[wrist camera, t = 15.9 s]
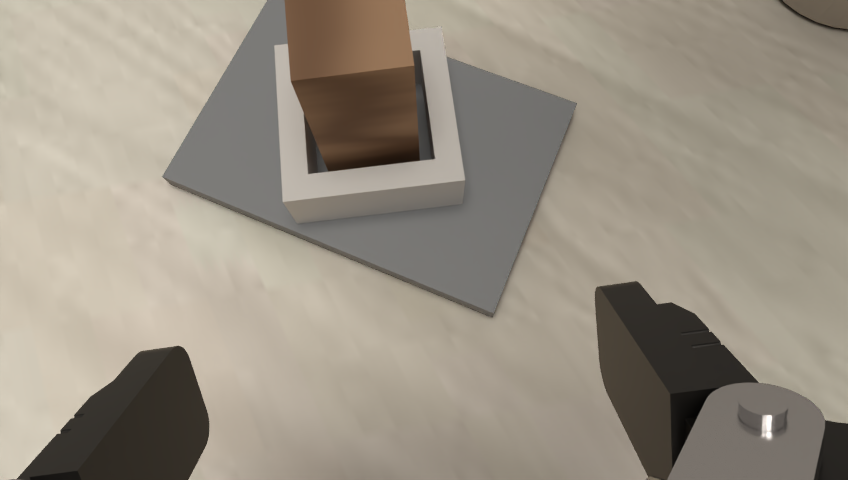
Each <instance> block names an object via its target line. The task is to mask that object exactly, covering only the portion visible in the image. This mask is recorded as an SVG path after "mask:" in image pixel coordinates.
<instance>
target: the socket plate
mask: <svg viewBox="0 0 848 480" xmlns="http://www.w3.org/2000/svg"><path fill="white" fill-rule="evenodd" d="M409 33H410V39H411V46H412V53H413V60H414V68H415V85H416V102H417V119H418V136H419V153H420V161H415V162H406V163H398V164H390V165H381V166H373V167H364V168H356V169H347V170H339V171H330V172H328V170H327V167H326V165H325V162H324V160H323V158H322V155H321V153H320V150H319V148H318V146H317V143H316V141H315V138H314V136H313V134H312V131H311V129H310V126H309V124H308V122H307V119H306V117H305V114H304V112H303V110H302V107H301V105H300V102H299V100H298V98H297V95H296V93H295V90H294V88H293V86H292V83H291V80H290V67H289V53H288V40H287V27H286V14H285V0H267V2H266V4H265V5H264V7H263V9H262V10H261V12H260V14H259V15H258V17H257V19H256V20H255V22H254V24H253V25H252V27H251V29H250V30H249V32H248V34H247V35H246V37H245V39H244V40H243V42H242V44H241V45H240V47H239V49H238V50H237V52H236V54H235V55H234V57H233V59H232V61H231V62H230V64H229V66H228V67H227V69H226V71H225V72H224V74H223V76H222V77H221V79H220V81H219V82H218V84H217V86H216V87H215V89H214V91H213V92H212V94H211V96H210V97H209V99H208V101H207V102H206V104H205V106H204V107H203V109H202V111H201V112H200V114H199V116H198V117H197V119H196V121H195V122H194V124H193V126H192V128H191V129H190V131H189V133H188V134H187V136H186V138H185V139H184V141H183V143H182V144H181V146H180V148H179V149H178V151H177V153H176V154H175V156H174V158H173V159H172V161H171V163H170V164H169V166H168V168H167V169H166V171H165V173H164V174H163V176H162V177H163V178H164V179H165V180H166V181H168V182H169V183H170V184H171V185H174V186H176V187H178V188H181V189H183V190H186V191H188V192H191V193H193V194H195V195H198V196H200V197H203V198H205V199H207V200H210V201H212V202H215V203H217V204H219V205H222V206H224V207H227V208H229V209H232V210H234V211H236V212H239V213H241V214H244V215H246V216H248V217H251V218H253V219H256V220H258V221H261V222H263V223H265V224H268V225H270V226H273V227H275V228H277V229H280V230H282V231H285V232H287V233H290V234H292V235H294V236H297V237H299V238H302V239H304V240H306V241H309V242H311V243H314V244H316V245H319V246H321V247H323V248H326V249H328V250H331V251H333V252H335V253H338V254H340V255H343V256H345V257H348V258H350V259H352V260H355V261H357V262H360V263H362V264H364V265H367V266H369V267H372V268H374V269H377V270H379V271H381V272H384V273H386V274H389V275H391V276H393V277H396V278H398V279H401V280H403V281H406V282H408V283H410V284H413V285H415V286H418V287H420V288H422V289H425V290H427V291H430V292H432V293H435V294H437V295H439V296H442V297H444V298H447V299H449V300H451V301H454V302H456V303H459V304H461V305H464V306H466V307H468V308H471V309H473V310H476V311H478V312H480V313H483V314H485V315H488V316H490V317H492V316H493V314H494V311H495V309H496V306H497V304H498V301H499V299H500V296H501V294H502V291H503V289H504V286H505V284H506V281H507V279H508V276H509V274H510V271H511V268H512V266H513V263H514V261H515V258H516V256H517V253H518V251H519V248H520V246H521V243H522V241H523V238H524V236H525V233H526V231H527V228H528V226H529V223H530V221H531V218H532V216H533V213H534V210H535V208H536V205H537V203H538V200H539V198H540V195H541V193H542V190H543V188H544V185H545V183H546V180H547V178H548V175H549V173H550V170H551V168H552V165H553V163H554V160H555V158H556V155H557V152H558V150H559V147H560V145H561V142H562V140H563V137H564V135H565V132H566V130H567V127H568V125H569V122H570V120H571V117H572V115H573V112H574V110H575V107H576V105H577V103H575V102H572V101H569V100H566V99H564V98H561V97H558V96H555V95H552V94H550V93H547V92H544V91H541V90H538V89H536V88H533V87H530V86H527V85H524V84H521V83H519V82H516V81H513V80H510V79H507V78H505V77H502V76H499V75H496V74H493V73H491V72H488V71H485V70H482V69H479V68H477V67H474V66H471V65H468V64H465V63H462V62H460V61H457V60H454V59H451V58H448V57H446V51H445V45H444V38H443V32H442V26H440V27H431V28H422V29H413V30H409Z"/></svg>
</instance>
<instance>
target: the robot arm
mask: <svg viewBox="0 0 848 480" xmlns="http://www.w3.org/2000/svg"><path fill="white" fill-rule="evenodd" d="M783 1H784V3H786V4H787V5H788V6H790V7H791V8H792V9H794V10H795V11H797V12H798V13H799V14H801V15H803V16H805V17H807V18H809V19H811V20H813V21H815V22H818V23H821V24H825V25H828V26H831V27H836V28H843V29H848V0H783ZM595 307H596V321H597V335H598V349H599V362H600V369H601V374H602V378H603V382H604V386H605V389H606V391H607V394H608V396H609V398H610V400H611V402H612V404H613V406H614V408H615V410H616V412H617V414H618V416H619V418H620V420H621V422H622V424H623V426H624V428H625V430H626V432H627V434H628V437H629V439H630V441H631V443H632V445H633V447H634V449H635V451H636V453H637V455H638V457H639V459H640V461H641V463H642V465H643V467H644V469H645V471H646V473H647V475H648V478H647V479H646V480H848V424H846V423H837V422H831V421H826V420H825V419H824V416H823V414H822V413H821V411H820V409H819V408H818V407H817V406H816V405H815V404H814V403H812V402H811V401H810V400H808V399H807V398H805V397H803V396H802V395H800V394H798V393H796V392H793V391H791V390H788V389H785V388H782V387H779V386H775V385H770V384H763V383H759V382H758V381H757V380H756V379H755V378H754V377H753V376H752V375H751V374H750V373H749V372H748V371H747V370H746V368H745V367H744V366H743V365H742V364H741V363H740V362H739V361H738V360H737V359H736V358H735V357H734V356H733V354H732V353H731V352H730V351H729V350H728V349H727V348H726V347H725V346H724V345H721V343H720V340H719V339H718V338H717V337H716V336H715V335H714V334H713V333H712V332H709V329H708V328H707V326H706V325H705V324H704V323H703V322H702V321H701V320H700V319H699V318H698V317H697V316H696V315H695V314H694V313H692V312H690V311H688V310H686V309H684V308H682V307H680V306H677V305H675V304H673V303H664V304H656V303H655V302H654V300H653V299H652V298H651V297H650V295H649V294H648V293H647V292H646V291H645V289H644V288H643V287H642V286H641V285H640V283H639V282H637V281H635V282H628V283H621V284H614V285H607V286H600V287H597V288H596V291H595ZM208 437H209V418H208V413H207V410H206V407H205V404H204V401H203V398H202V394H201V391H200V388H199V385H198V382H197V379H196V376H195V373H194V370H193V367H192V364H191V361H190V358H189V356H188V354H187V352H186V351H185V349H184V348H183V347H181V346H174V347H167V348H160V349H153V350H146V351H141V352H139V353H138V354H137V355H136V356H135V357H134V358H133V359H132V360H131V361H130V363H129V364H128V365H127V366H126V367H125V368H124V369H123V371H122V372H121V373H120V374H119V375H118V376H117V377H116V379H115V380H114V381H112V382H111V383H110V384H108V385H107V386H105V387H104V388H102V389H101V390H100V391H98V392H97V393H95V394H94V395H92V396H91V397H90V398H89V399H88V400H87V401H86V402H85V404H84V405H83V406H82V407H81V408H80V409H79V410H78V411H77V412H76V414H75V415H74V418H73V419H70V420H69V421H68V422H67V424H66V425H65V426H64V427H63V428H62V429H61V434H57V435H56V436H55V437H54V438H53V439H52V440H51V441H50V442H49V444H48V445H47V446H46V447H45V448H44V449H43V450H42V451H41V453H40V454H39V455H38V456H37V457H36V458H35V459H34V460H33V461H32V463H31V464H30V465H29V466H28V467H27V468H26V469H25V470H24V471H23V473H22V474H21V475H20V476H19V477H18V478H17V479H11V480H188V479H189V477H190V475H191V474H192V472H193V470H194V468H195V466H196V464H197V462H198V460H199V458H200V456H201V454H202V452H203V450H204V449H205V447H206V444H207V441H208Z"/></svg>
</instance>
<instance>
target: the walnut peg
mask: <svg viewBox="0 0 848 480" xmlns="http://www.w3.org/2000/svg"><path fill="white" fill-rule="evenodd" d="M285 14H286V27H287V40H288V53H289V67H290V80H291V83H292V86H293V88H294V90H295V93H296V95H297V98H298V100H299V102H300V105H301V107H302V110H303V112H304V114H305V117H306V119H307V122H308V124H309V126H310V129H311V131H312V134H313V136H314V138H315V141H316V143H317V146H318V148H319V150H320V153H321V155H322V158H323V160H324V162H325V165H326V167H327V170H328V172H330V171H339V170H347V169H356V168H364V167H373V166H381V165H390V164H398V163H406V162H415V161H420V153H419V136H418V119H417V102H416V85H415V68H414V60H413V53H412V46H411V39H410V33H409V26H408V19H407V12H406V5H405V0H285Z"/></svg>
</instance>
